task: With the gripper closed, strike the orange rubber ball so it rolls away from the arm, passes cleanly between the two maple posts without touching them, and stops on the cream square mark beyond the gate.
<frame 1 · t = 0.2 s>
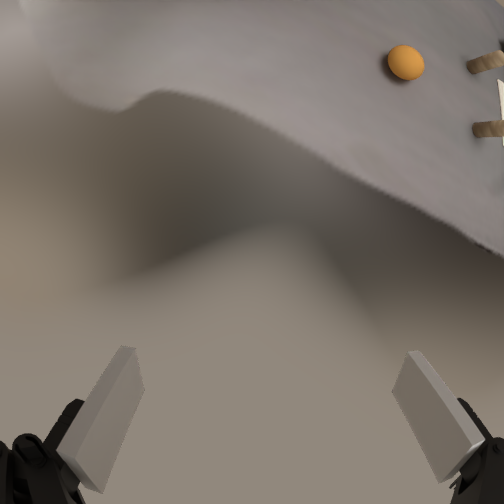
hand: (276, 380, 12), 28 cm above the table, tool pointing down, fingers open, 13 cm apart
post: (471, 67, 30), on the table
ball: (406, 62, 29), on the table
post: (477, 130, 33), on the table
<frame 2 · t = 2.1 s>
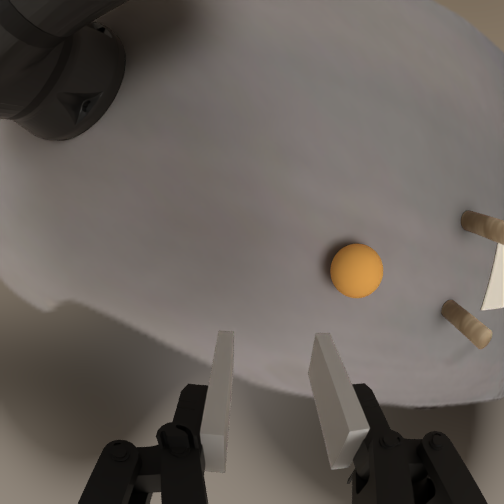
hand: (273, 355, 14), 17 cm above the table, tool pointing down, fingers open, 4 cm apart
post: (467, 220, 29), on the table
ball: (356, 270, 28), on the table
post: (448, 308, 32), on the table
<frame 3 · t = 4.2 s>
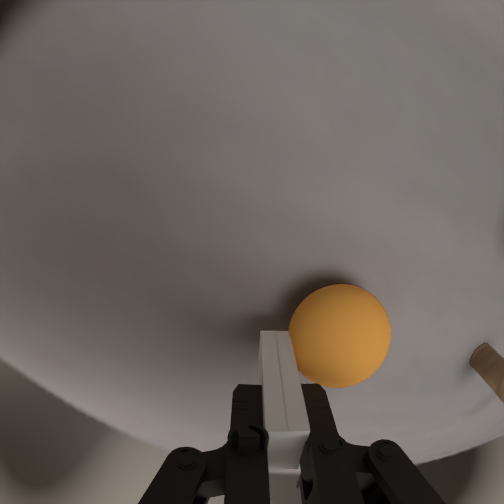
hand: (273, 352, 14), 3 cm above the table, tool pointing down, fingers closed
ball: (339, 336, 14), on the table, touching gripper
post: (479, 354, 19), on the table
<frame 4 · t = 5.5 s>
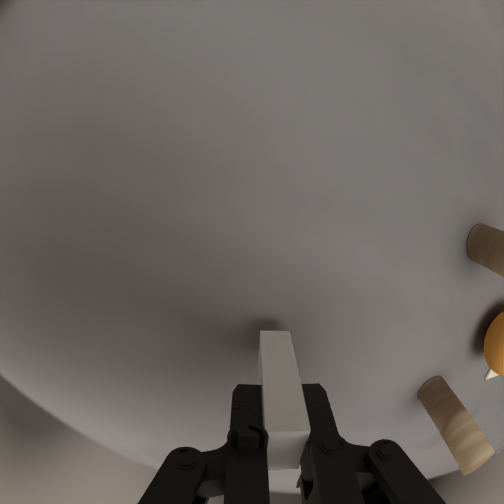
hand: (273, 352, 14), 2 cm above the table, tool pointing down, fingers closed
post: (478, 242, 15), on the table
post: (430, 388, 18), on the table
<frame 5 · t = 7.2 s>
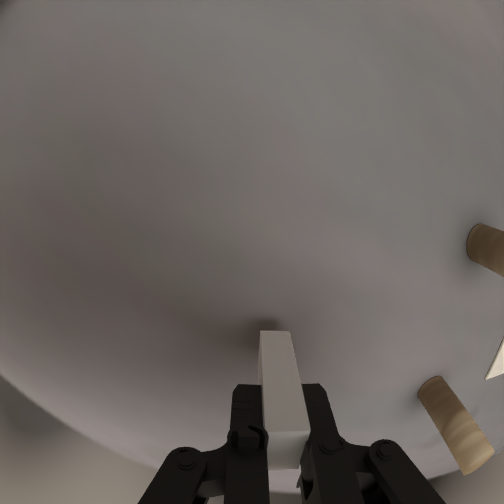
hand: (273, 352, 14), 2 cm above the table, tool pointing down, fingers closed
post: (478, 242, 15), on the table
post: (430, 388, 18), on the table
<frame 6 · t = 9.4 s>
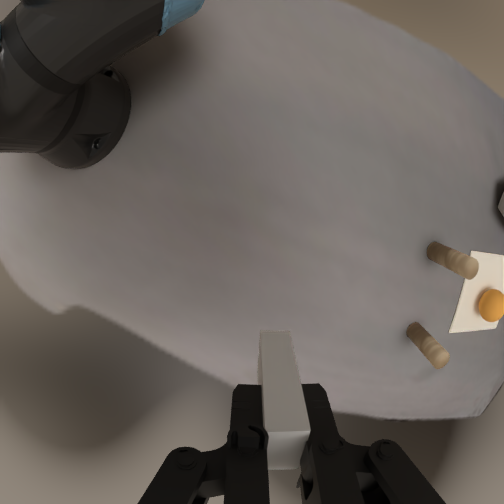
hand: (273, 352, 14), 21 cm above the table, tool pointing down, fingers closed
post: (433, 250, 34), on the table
ball: (492, 305, 33), on the table
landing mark: (485, 293, 36), on the table
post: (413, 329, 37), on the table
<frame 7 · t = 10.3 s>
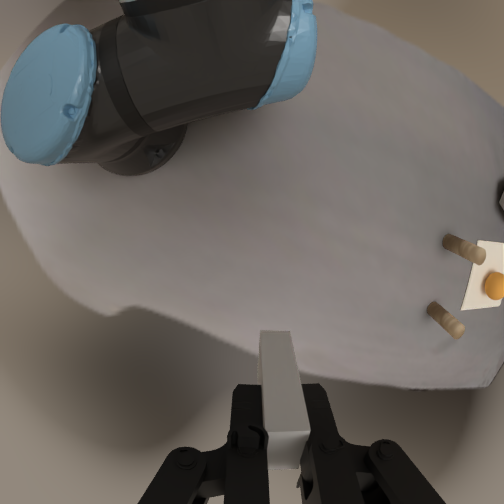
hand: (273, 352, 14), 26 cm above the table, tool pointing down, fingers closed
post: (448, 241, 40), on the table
ball: (496, 286, 39), on the table
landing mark: (490, 276, 42), on the table
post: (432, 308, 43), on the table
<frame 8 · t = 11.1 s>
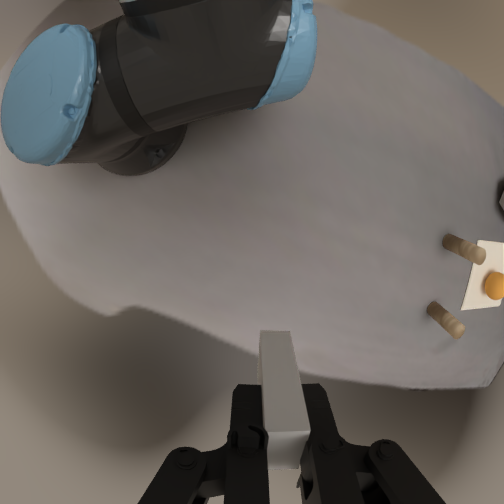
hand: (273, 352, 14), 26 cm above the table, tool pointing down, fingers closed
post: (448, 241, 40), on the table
ball: (496, 286, 39), on the table
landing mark: (490, 275, 42), on the table
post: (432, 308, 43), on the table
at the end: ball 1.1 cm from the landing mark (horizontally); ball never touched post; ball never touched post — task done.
